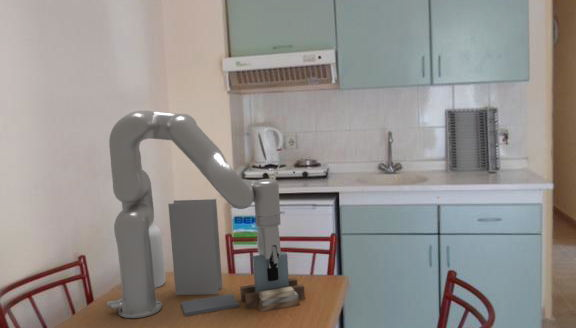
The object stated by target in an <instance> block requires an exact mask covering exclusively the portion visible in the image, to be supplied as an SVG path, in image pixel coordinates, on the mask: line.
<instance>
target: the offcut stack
mask: <svg viewBox="0 0 576 328" xmlns="http://www.w3.org/2000/svg"><path fill="white" fill-rule="evenodd" d="M259 297H260V302H257V306H258V307H257V309H258V310H259V312H260V313H262V312H267V311H273V310H278V309H285V308H291V307H297V306H300V303H301V302H300V300H299V299H298V294H297V293H296V292H295V291H294V289H293V288H292V287H286V288H280V289H274V290H268V291H262V292H259Z"/></svg>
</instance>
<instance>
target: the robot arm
mask: <svg viewBox="0 0 576 328" xmlns="http://www.w3.org/2000/svg"><path fill="white" fill-rule="evenodd" d="M148 139H151V140H163V141H164V140H165V141H172V143H173V144H174V145H175V146H176V147H177V148H178V149H179V150H180V151H181V152H182V153H183V154H184V155H185V157H187V158H188V159H189V160H190V162H192V164H193V165H194V166H195V167H196V168H197V169H198V170H199V171H200V173H201V174H202V175H203V177H205V179H206V180H207V181H208V182H209V183H210V185H211V186H212V187H213V189H215V190H216V191H217V193H219V195H221V196H222V198H223V199H224V200H225V201H226V202H227V203H228V204H229V205H230V206H231V207H233V208H234V209H237V210H245V209H247V208H248V207H250V206H251V205H252V204H253V203H254V214H255V215H254V217H255V226H256V228H257V230H256V231H257V232H256V234H257V236H256V237H257V239H256V240H257V253H258V255H261V256H262V257H263V258H264V259H265V260H267V259H268V268H267V274H268V281H275V280H278V258H280V256H281V252H282V251H281V250H282V249H281V239H280V231H279V226H280V225H281V223H282V222H281V209H280V208H281V205H280V187H279V182H278V181H277V179H275V178H262V179H243V178H241V176H240V175H238V173H237V172H236V171H235V169H233V167H232V166H231V165H230V164H229V162H228V161H227V160H226V157H225V156H224V155H225V154H224V153H223V152H222V151H221V149H220V148H219V147H218V146H217V145H216V143H214V142H213V140H212V139H210V138H209V137H208V136H207V134H206V133H205V132H204V131H203V130H202V129H201V128H200V127H199V126H198V124H197V122H196V119H194V117H192V115H189V114H188V113H187V114H186V113H176V112H175V113H173V112H162V111H152V110H136V111H132V112H129V113H128V114H126V115H124V116H123V117H121V118H120V119H119V120H118V121H117V122H116V123H115V124H114V126H113V128H112V129H111V131H110V135H109V140H108V142H109V143H108V144H109V146H108V147H109V156H110V157H109V158H110V169H111V176H112V177H111V179H112V189H113V190H112V192H113V194H114V196H115V198H116V199H117V200H118V201H119V202H121V206H122V208H121V209H122V210H121V211H120V212H119V213H118V214H117V216H116V218H115V220H114V226H113V232H114V238H115V241H116V246H117V256H118V263H119V273H120V283H121V285H120V287H121V295H120V296H121V297H119V298H117V300H116V299H115V300H109V301H107V302H106V305H107V306H106V307H107V309H109V308H111V310H116V309H118V315H119V316H121V318H126V319H137V318H138V319H139V318H145V317H149V316H152V315H154V314H156V313H158V312H159V311H160V310H161V309H162V308H163V306H162V304H163V303H162V301H160V300H158V299H157V296H156V288H155V283H154V271H153V260H152V250H151V243H150V237H149V228H150V226H151V225H152V223H153V220H154V221H155V210H154V199H153V191H152V190H153V189H152V188H153V187H152V182H151V178H150V176H149V174H148V173H147V172H146V171H145V170H144V169H143V166H142V155H141V150H140V145H141V142H142V141H145V140H148ZM270 256H272V258H270ZM270 260H273V261H271V263H270Z"/></svg>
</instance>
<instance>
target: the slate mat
mask: <svg viewBox="0 0 576 328" xmlns="http://www.w3.org/2000/svg"><path fill="white" fill-rule="evenodd" d="M180 306H181V309H182V311H183V315H184V317H188V316H194V315H195V316H196V315H200V314H205V313H212V312H219V311H222V310H223V311H224V310H228V309H233V308H239V307H240V305H239V302H238V300H237V299H236V298H235V296H234V294H233V293H229V294H221V295H215V296H212V297H205V298H204V297H203V298H199V299H198V298H197V299H192V300H186V301H185V300H184V301H180Z"/></svg>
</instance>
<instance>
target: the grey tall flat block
mask: <svg viewBox="0 0 576 328" xmlns="http://www.w3.org/2000/svg"><path fill="white" fill-rule="evenodd" d="M217 204H218V203H217V198H212V199H209V198H207V199H184V200H183V199H180V200H179V199H177V200H173V202H171V203H168V214H169V215H168V216H169V228H170V240H171V252H172V262H173V265H172V266H173V279H174V290H175V295H176V296H186V295H187V296H189V295H192V296H193V295H195V296H197V295H198V296H199V295H203V296H204V295H219V293H220V292H219V290H221V289H223V279H222V263H221V248H220V236H219V234H220V233H219V222H218V207H217Z"/></svg>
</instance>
